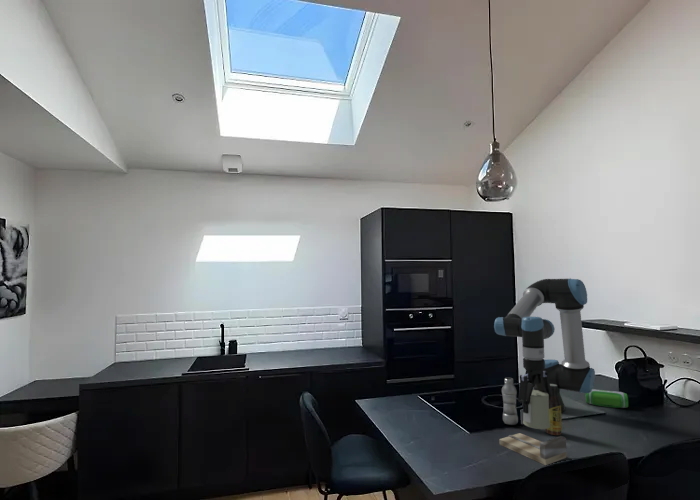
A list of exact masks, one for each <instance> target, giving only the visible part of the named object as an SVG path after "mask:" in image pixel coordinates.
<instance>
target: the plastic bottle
mask: <svg viewBox="0 0 700 500" xmlns="http://www.w3.org/2000/svg"><path fill="white" fill-rule="evenodd" d="M517 393H518V391H517V388H516V386H515V384H514V378H512V377H505V378H504V384H503V386H502V388H501V394H502V401H503V402H502V403H503V404H502V405H503V409H502V410H503V412H502V421H503V423H504V424H506V425H508V426H516V425H517V424H518V422H519V416H518V411H517V396H518V394H517Z"/></svg>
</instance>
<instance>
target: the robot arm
mask: <svg viewBox="0 0 700 500" xmlns="http://www.w3.org/2000/svg"><path fill="white" fill-rule="evenodd" d="M587 303H588V292H587V288H586V285H585V283H584V282H583V280H581V279H579V278H571V277H569V278H545V279H540V280H537V281H535V282H533V283H531V284H530V285H528V287H526V288H525V290H523V293H522V297H521V298H520V299H519V300H518V301H517V303H516V304H515V305H514V306H513V308H511V310H510V311H509V312H508V313H507V315H505V317H503V316H501V317H500V316H498V317H496V318H495V320H494V323H493V324H494V325H493V328H494V333H496V335H499V336H503V337H516V338H521V340H522V341H521V343H522V345H521V346H522V347H521V348H522V357H523V358H522V363H523V364H522V367H523V368H524V369H525V373H524V374H519V388H518V398H517V401H518V402H519V403H521V404H522V413H523V412H524V421H526V422H529V423H532V419H531V404H529V402H530V396H531V395H532V391H533V390H539V391H541V392H544V393H545V392H546V393H548V394H549V400H551V398H550V397H552V393H551V388H550V384H555V385H557V386H558V389H557V395H558V399H559V402H560V404H561V413H562V412H565V410H566V407H565V403H564V400H563V398H562V395H561V390H565V391H570V392H577V393H579V394H580V393H581V394H582V393H583V394H586V393H590V392H591V391H592V389H594V385H595V381H596V380H595V379H596V378H595V377H596V371H595V369H594V368H592V367H591V365H590V362H589V361H587V360H586V353H585V352H586V351H585V343H584V334H583V333H584V332H583V324H582V314H581V311H582V310H584V307H585V306H584V305H587ZM543 304H554V305H555V309H556V310H557V311H558V312H559V318H560V327H561V328H560V329H561V337H562V346H563V356H564V359H563V360H562V361H561V363H560V362H559V360H557V359H549V358H548V359H545V340H546V339H549V338H550V337H552V336H553V335H554V333H555V328H556V327H555V326H554V324H553V322H552V321H550V319H547V318H544V319H543V318H542V317H540V316H531V315H532V314H533V313H534V311H535V310H536V309H537V307H540V306H541V305H543ZM526 400H527V401H526Z"/></svg>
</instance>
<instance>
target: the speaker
mask: <svg viewBox="0 0 700 500" xmlns="http://www.w3.org/2000/svg"><path fill="white" fill-rule="evenodd" d="M585 402H586V403H587V404H589V405H593V406H597V407H607V408H615V409H618V408H619V409H625V408H629V397H628V394H627V393H625V392H622V391H614V390H606V389H605V390H603V389H595V388H593V389H592V391H591V392H590V393H585Z"/></svg>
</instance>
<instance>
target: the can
mask: <svg viewBox="0 0 700 500" xmlns="http://www.w3.org/2000/svg"><path fill="white" fill-rule="evenodd" d="M526 401H527V400H526ZM529 404H531V419H532V423H529V422H526V421H524V412H523V411H522V414H523V416H522V418H523V419H522V420H523V421H522V424H523V425H524V426H526V427H528V428H532V429H537V430H545V429H547V428H549V427H550V421H549V394H548V393H546V392H545V393H544V392H541V391H539V390H534V389H533V391H532V395H531V396H530V402H529Z"/></svg>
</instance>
